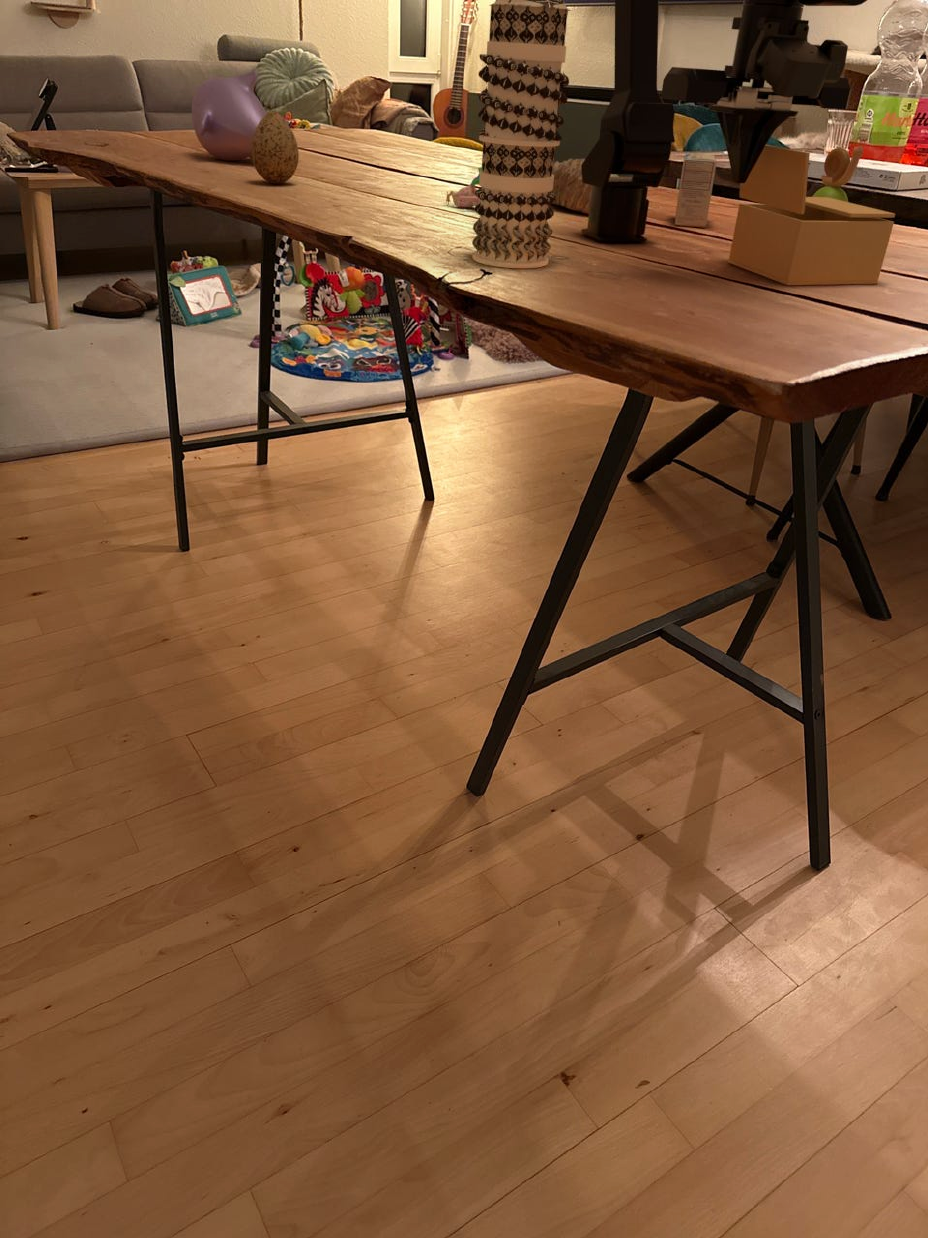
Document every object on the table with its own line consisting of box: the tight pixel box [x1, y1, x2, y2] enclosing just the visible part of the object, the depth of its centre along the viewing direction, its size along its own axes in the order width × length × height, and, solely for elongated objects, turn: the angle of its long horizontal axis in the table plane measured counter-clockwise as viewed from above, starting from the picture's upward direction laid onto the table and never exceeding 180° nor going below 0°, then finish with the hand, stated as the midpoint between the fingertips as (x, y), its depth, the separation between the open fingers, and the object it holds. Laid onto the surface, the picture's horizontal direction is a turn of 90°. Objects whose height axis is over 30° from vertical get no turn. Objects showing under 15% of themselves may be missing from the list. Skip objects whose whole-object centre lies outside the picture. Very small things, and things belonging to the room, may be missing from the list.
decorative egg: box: [251, 110, 300, 185], centre depth 143 cm, size 7×7×10 cm
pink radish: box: [445, 166, 482, 209], centre depth 131 cm, size 6×6×15 cm
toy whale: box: [191, 70, 289, 162], centre depth 163 cm, size 14×25×16 cm, turn 46°
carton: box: [728, 196, 896, 286], centre depth 104 cm, size 12×12×7 cm
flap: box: [739, 144, 811, 214], centre depth 99 cm, size 6×12×1 cm
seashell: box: [551, 157, 620, 215], centre depth 137 cm, size 14×9×10 cm
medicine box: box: [674, 153, 717, 229], centre depth 132 cm, size 8×4×9 cm, turn 168°
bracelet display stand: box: [471, 0, 572, 269], centre depth 97 cm, size 9×9×25 cm
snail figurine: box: [811, 137, 868, 202], centre depth 136 cm, size 5×6×12 cm
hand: (739, 182), depth 98 cm, fingers closed
